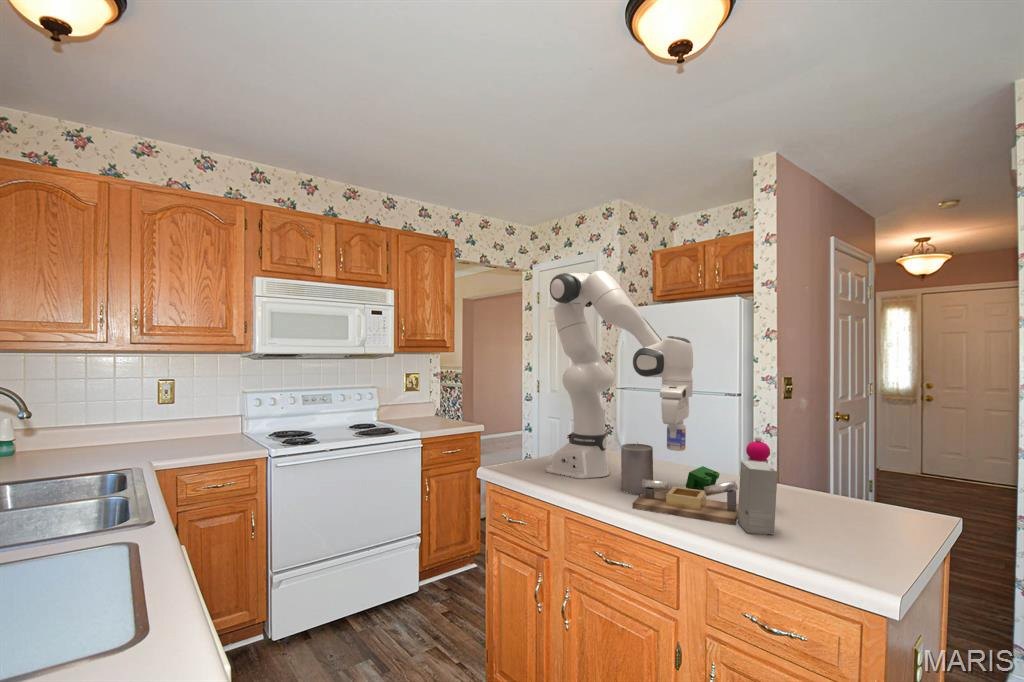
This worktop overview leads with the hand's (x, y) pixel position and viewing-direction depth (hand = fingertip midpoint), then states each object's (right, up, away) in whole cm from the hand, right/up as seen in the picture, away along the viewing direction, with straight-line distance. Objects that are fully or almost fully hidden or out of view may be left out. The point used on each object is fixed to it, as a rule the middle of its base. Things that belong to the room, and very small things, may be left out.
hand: (675, 435), depth 151 cm
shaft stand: (-2, -18, -14) cm, 22 cm away
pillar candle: (-11, -18, +5) cm, 22 cm away
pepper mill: (+19, -18, -13) cm, 29 cm away
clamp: (+11, -18, +7) cm, 23 cm away
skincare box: (+10, -18, -29) cm, 35 cm away
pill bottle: (0, -4, 0) cm, 4 cm away
